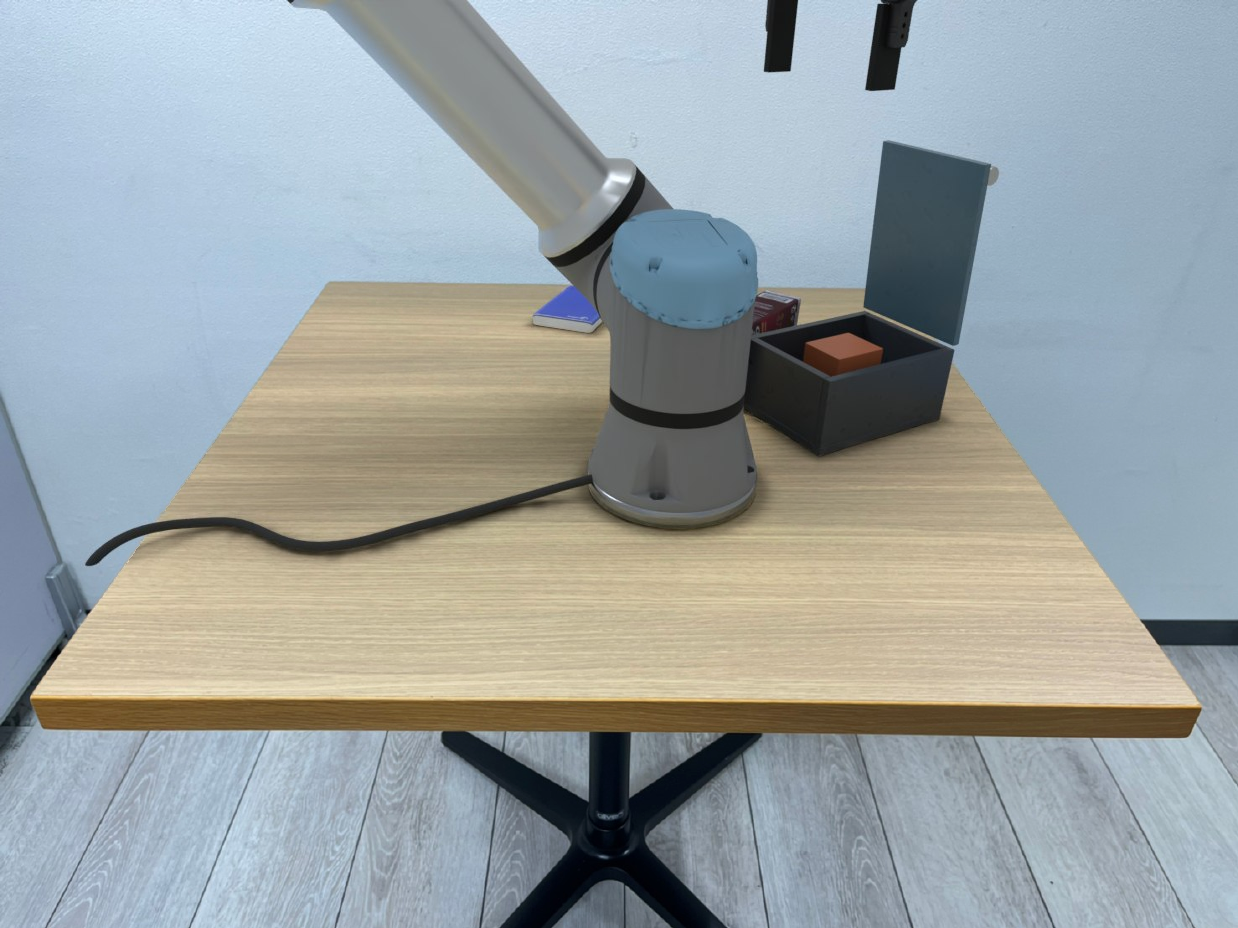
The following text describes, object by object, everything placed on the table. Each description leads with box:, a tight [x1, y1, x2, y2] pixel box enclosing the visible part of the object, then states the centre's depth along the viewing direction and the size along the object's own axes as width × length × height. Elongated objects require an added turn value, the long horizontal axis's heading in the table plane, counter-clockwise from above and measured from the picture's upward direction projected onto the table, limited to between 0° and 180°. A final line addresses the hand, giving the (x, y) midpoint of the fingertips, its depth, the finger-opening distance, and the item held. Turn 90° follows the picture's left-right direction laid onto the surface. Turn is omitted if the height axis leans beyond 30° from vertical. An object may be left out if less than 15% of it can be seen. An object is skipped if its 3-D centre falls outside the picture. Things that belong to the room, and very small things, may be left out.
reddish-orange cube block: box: [803, 333, 883, 377], centre depth 94 cm, size 6×5×7 cm
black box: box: [743, 310, 956, 457], centre depth 95 cm, size 17×13×8 cm
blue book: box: [532, 285, 603, 334], centre depth 121 cm, size 2×8×12 cm
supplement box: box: [751, 289, 802, 335], centre depth 101 cm, size 9×5×16 cm
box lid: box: [862, 139, 1000, 347], centre depth 93 cm, size 18×13×7 cm
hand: (825, 80), depth 82 cm, fingers open, 13 cm apart
